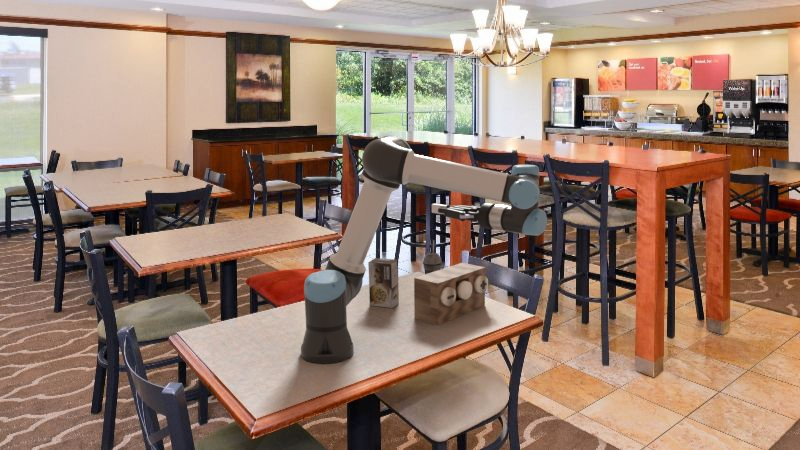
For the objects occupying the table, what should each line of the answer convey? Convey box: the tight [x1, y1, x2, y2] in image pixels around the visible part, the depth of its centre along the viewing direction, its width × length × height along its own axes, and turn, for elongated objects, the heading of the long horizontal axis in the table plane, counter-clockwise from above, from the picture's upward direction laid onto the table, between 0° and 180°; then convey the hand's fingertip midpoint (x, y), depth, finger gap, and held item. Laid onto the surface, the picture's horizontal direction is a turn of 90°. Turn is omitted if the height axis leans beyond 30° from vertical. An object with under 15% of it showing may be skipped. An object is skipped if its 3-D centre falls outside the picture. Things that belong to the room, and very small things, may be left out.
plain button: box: [457, 281, 472, 299], centre depth 215 cm, size 6×2×6 cm, turn 137°
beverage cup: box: [422, 239, 443, 275], centre depth 241 cm, size 7×7×20 cm
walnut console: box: [413, 262, 489, 326], centre depth 219 cm, size 26×12×14 cm, turn 137°
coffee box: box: [367, 257, 400, 309], centre depth 228 cm, size 9×6×16 cm
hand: (433, 208), depth 203 cm, fingers closed
